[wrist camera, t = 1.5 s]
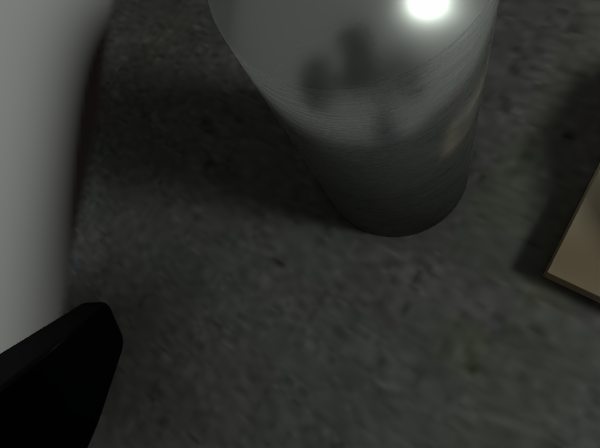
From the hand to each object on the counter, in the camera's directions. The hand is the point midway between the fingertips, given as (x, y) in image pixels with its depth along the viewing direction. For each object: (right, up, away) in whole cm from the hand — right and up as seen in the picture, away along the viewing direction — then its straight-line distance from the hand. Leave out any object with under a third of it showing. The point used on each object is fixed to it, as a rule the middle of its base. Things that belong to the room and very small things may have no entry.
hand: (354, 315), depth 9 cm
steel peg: (+3, +4, +14) cm, 15 cm away
